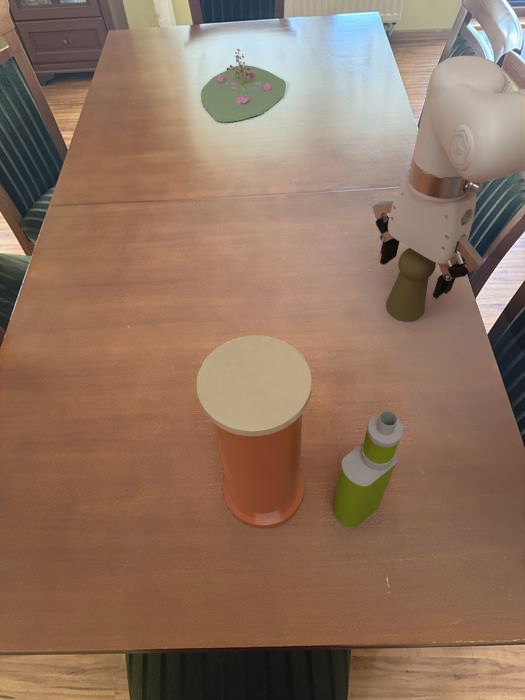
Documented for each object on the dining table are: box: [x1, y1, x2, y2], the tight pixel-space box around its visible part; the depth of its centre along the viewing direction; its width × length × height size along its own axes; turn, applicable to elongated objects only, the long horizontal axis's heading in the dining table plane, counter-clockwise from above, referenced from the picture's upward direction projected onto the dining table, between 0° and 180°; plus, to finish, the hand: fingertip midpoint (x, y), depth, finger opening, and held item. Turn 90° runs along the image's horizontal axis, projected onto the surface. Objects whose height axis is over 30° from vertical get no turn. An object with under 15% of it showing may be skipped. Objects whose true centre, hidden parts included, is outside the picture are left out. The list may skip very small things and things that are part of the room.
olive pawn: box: [385, 247, 437, 323], centre depth 76 cm, size 6×6×11 cm
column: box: [196, 334, 313, 529], centre depth 54 cm, size 10×10×24 cm
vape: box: [332, 410, 404, 529], centre depth 53 cm, size 4×6×20 cm, turn 127°
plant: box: [200, 48, 286, 123], centre depth 120 cm, size 25×21×9 cm
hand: (413, 275), depth 75 cm, fingers open, 9 cm apart
